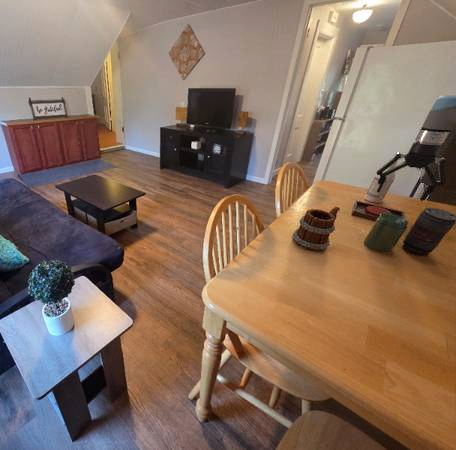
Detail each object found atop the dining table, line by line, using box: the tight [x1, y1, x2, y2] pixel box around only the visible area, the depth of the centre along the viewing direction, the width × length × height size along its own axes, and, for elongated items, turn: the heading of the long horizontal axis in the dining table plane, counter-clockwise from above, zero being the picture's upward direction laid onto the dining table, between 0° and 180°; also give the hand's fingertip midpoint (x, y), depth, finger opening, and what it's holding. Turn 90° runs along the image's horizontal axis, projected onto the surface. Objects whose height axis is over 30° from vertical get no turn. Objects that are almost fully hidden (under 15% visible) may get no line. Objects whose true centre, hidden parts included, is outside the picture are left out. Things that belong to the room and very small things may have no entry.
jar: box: [363, 213, 409, 254], centre depth 85 cm, size 8×8×12 cm
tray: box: [351, 200, 406, 222], centre depth 106 cm, size 17×13×2 cm
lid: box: [365, 205, 392, 217], centre depth 106 cm, size 9×9×2 cm
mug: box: [292, 206, 341, 252], centre depth 86 cm, size 12×14×15 cm
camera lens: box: [401, 207, 456, 257], centre depth 82 cm, size 8×8×15 cm
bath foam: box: [364, 158, 399, 204], centre depth 114 cm, size 7×7×20 cm
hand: (398, 195), depth 101 cm, fingers open, 13 cm apart
